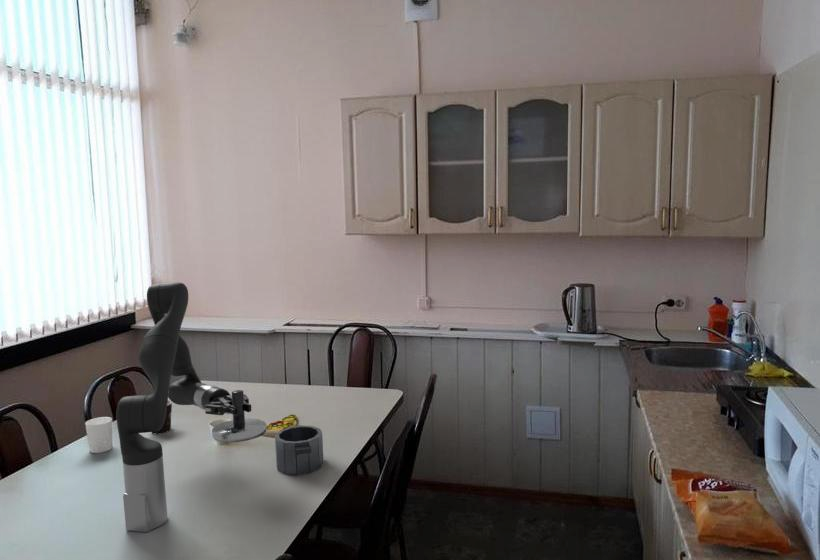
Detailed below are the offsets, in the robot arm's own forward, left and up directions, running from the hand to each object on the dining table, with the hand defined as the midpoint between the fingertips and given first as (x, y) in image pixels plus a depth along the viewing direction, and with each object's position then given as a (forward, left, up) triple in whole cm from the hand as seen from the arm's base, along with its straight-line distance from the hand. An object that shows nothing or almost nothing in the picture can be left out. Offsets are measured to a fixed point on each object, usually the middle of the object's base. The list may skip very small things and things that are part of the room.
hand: (244, 410), depth 166 cm
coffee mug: (+38, +52, -23) cm, 68 cm away
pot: (+16, -10, -23) cm, 29 cm away
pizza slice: (+46, +8, -23) cm, 52 cm away
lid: (+1, +2, -7) cm, 8 cm away
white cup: (+18, +62, -23) cm, 69 cm away
